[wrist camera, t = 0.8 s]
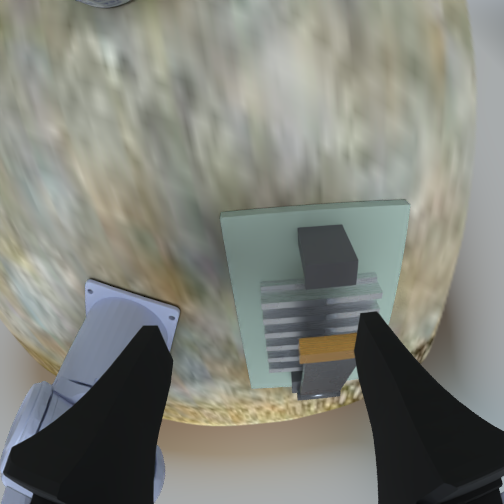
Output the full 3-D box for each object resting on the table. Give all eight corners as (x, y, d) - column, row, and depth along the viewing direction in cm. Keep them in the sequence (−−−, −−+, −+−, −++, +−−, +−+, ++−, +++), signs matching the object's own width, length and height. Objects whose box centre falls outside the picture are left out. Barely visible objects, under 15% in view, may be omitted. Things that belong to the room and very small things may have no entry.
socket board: (372, 370, 28) (382, 409, 24) (251, 382, 29) (250, 424, 25) (405, 199, 19) (438, 236, 15) (221, 212, 20) (211, 253, 16)
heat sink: (362, 346, 25) (366, 364, 24) (269, 355, 26) (269, 374, 24) (375, 271, 21) (383, 289, 19) (260, 281, 22) (260, 301, 20)
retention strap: (340, 386, 25) (341, 397, 25) (294, 390, 26) (295, 402, 25) (375, 326, 15) (379, 346, 14) (298, 335, 15) (300, 355, 15)
